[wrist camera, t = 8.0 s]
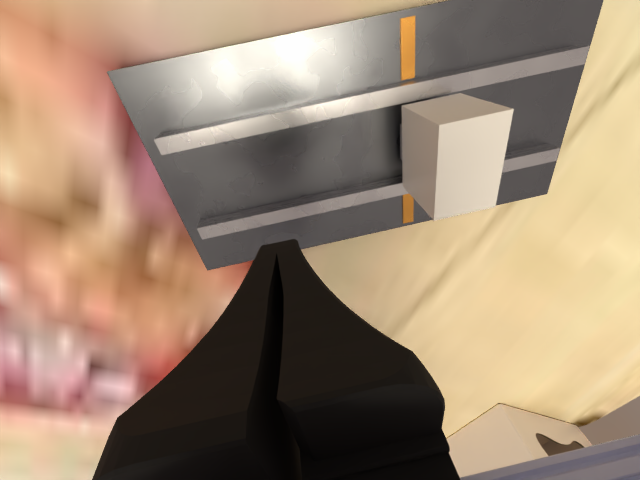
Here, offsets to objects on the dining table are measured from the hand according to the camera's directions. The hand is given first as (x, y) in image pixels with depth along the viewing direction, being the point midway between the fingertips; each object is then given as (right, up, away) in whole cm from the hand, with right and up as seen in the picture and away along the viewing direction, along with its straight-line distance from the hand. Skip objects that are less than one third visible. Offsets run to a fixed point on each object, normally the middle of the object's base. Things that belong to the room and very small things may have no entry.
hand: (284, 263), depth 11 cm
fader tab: (+7, +7, +6) cm, 11 cm away
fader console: (+4, +7, +7) cm, 11 cm away
